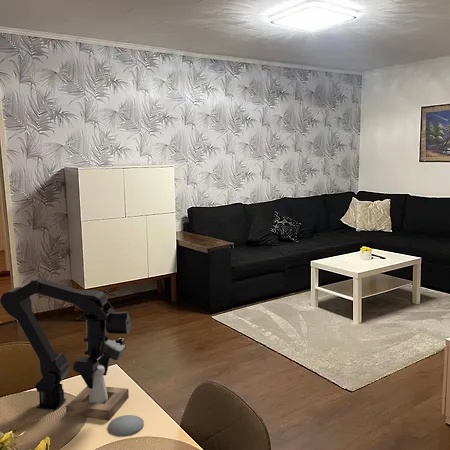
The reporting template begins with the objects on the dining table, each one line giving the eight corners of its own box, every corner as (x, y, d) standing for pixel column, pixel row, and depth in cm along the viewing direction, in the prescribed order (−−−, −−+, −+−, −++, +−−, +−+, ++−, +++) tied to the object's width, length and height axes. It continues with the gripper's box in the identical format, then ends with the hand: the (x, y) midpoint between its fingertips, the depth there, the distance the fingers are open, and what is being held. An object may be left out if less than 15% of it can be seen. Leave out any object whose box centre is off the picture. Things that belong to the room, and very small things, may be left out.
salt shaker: (102, 411, 142) (101, 371, 141) (85, 409, 143) (84, 369, 142) (111, 402, 148) (110, 363, 146) (94, 400, 149) (93, 361, 148)
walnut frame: (66, 415, 140) (65, 405, 140) (88, 393, 154) (88, 384, 153) (109, 420, 137) (109, 410, 137) (128, 397, 151) (128, 388, 151)
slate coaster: (102, 433, 130) (102, 431, 130) (117, 415, 140) (117, 413, 140) (135, 437, 129) (135, 435, 128) (148, 418, 138) (148, 416, 138)
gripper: (107, 346, 132) (108, 398, 134) (132, 324, 150) (133, 371, 152) (71, 343, 134) (73, 394, 136) (100, 322, 153) (102, 368, 154)
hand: (97, 381), depth 145 cm, fingers open, 9 cm apart
